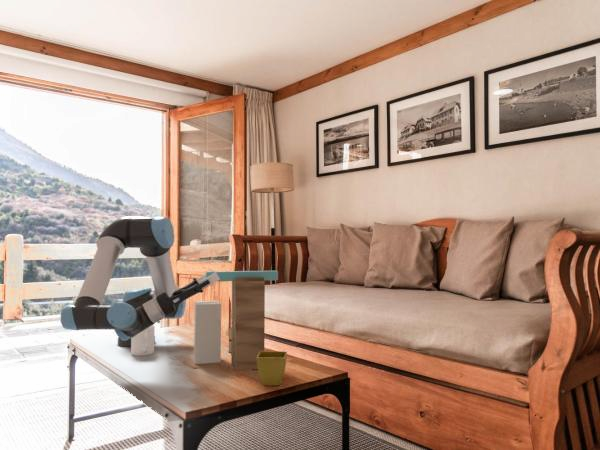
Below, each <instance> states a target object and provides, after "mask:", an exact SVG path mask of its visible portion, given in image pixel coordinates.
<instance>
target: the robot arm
mask: <svg viewBox="0 0 600 450" xmlns="http://www.w3.org/2000/svg"><path fill="white" fill-rule="evenodd" d="M174 243H175V230H174V226H173V223H172V221H171V219H170V218H168V217H166V216H159V215H155V216H130V215H129V216H123V217H120V218H117V219H116V220H114V221H113V222H111V223H110V224H109V225H107V227H105V229H103V231H102V232H101V233H100V234H99V237H98V239H97V241H96V248H97V249H96V252H95V254H94V256H93V259H92V261H91V264H90V266H89V269H88V271H87V273H86V276H85V278H84V281H83V283H82V286H81V288H80V291H79V293H78V295H77V298H76V300H75V302H74V304H73V303H72V304H66V305H65V306H64V307H62V310H61V312H60V324H61V325H62V327H63V329H65V330H74V331H82V330H85V331H86V330H114V332H115V334H116V335H117V345H118V346H120V347H129V348H131V338H133V337H134V336H136V335H137V334H139V333H140V332H142V331H144V330H145V329H147V328H148V327H150V326H152V325H155V324H156V323H157V324H160V323H161V321H162V320H164V319H167V320H168V319H173V320H175V319H181V318H183V316H184V314H185V309H186V302H187V300H188V299H190V298H191V297H193V296H195V295H198V294H199V293H200V294H203V293H204V289H206V288H208V287H209V286H211V285H213V284H215V283H216V282H219V281H218V280H220V278H219V277H218V275H217V273H216V271H214V270H213V269H211V270H209V272H215V273H214V274H212V275H210V276H208V277H207V278H206V273H205V274H203V275H202V276H199V277H198V278H196V277H195V278H193V279H192V281H191V282H189V283H187V284H186V285H185V286H183V287H181V288H180V286H179V285H178V284H177V283H176V281H175V276H174V272H173V271H174V270H173V267H172V262H171V257H170V252H169V251H170V250H171V248H172V247H173V246H174ZM127 248H128V249H129V248H132V249H133V248H135V249H137V248H138V249H139V252H140V253H141V254H142V256H144V257H145V258H146V262H147V265H148V269H149V273H150V277H151V281H152V284H153V287H154V288H153V289H154V290H153V289H152V288H151V287H146V288H145V287H143V288H136V289H131V290H126V291H125V292H124V293H123V295H122V301H117V302H114V303H113V304H102V303H103V300H104V297H105V295H106V292H107V289H108V287H109V285H110V281H111V279H112V276H113V273H114V270H115V267H116V265H117V262H118V260H119V257H120V256H121V255H122V254H123V253H124V252H125V249H127ZM155 338H156V336H155V335H154V343H155V342H156V339H155Z"/></svg>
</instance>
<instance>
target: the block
mask: <svg viewBox="0 0 600 450" xmlns="http://www.w3.org/2000/svg"><path fill="white" fill-rule="evenodd" d="M215 272H216V273H217V275H218V277H219V278H220V280H218V281H217V282H232V281H235V278H252V277H264V281H279V271H278V270H235V271H230V270H227V271H226V270H225V271H222V270H221V271H214V272H210V271H205V274H206V278H207V277H208V276H210V275H212V274H214V273H215Z"/></svg>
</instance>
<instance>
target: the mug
mask: <svg viewBox="0 0 600 450" xmlns="http://www.w3.org/2000/svg"><path fill="white" fill-rule="evenodd" d="M154 336H155V324H153V325H152V326H150V327H148V328H147V329H145V330H144V331H142V332H140V333H139V334H137V335H136V336H134V337H133V338H131V347H130V350H131V351H130V352H131V355H132V356H135V357H136V356H137V357H142V356H143V357H144V356H149V355H153V354H154V352H155V342H154Z"/></svg>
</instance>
